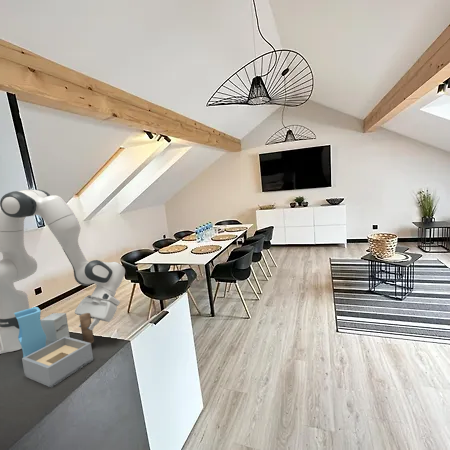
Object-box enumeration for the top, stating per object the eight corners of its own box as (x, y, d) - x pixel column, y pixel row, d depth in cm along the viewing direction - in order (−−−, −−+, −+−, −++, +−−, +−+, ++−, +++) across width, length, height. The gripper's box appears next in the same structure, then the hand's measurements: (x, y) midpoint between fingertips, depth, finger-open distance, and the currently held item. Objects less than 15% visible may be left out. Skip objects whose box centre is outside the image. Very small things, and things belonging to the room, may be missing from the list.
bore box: (25, 376, 99) (21, 358, 98) (67, 352, 113) (65, 336, 112) (51, 387, 92) (47, 368, 91) (93, 360, 106) (90, 343, 105)
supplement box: (57, 348, 117) (53, 320, 116) (43, 348, 119) (38, 320, 117) (70, 339, 124) (66, 312, 123) (57, 338, 126) (52, 312, 124)
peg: (81, 343, 115) (77, 316, 113) (89, 339, 118) (85, 312, 117) (87, 345, 113) (83, 317, 111) (96, 340, 116) (92, 313, 115)
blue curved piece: (22, 360, 110) (13, 313, 108) (45, 351, 115) (37, 306, 113) (25, 368, 104) (16, 318, 102) (49, 358, 110) (41, 310, 108)
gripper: (81, 291, 124) (63, 322, 117) (113, 296, 115) (96, 329, 107) (91, 297, 129) (75, 327, 121) (123, 302, 119) (107, 335, 112)
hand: (85, 328), depth 114 cm, fingers closed on peg, 4 cm apart
